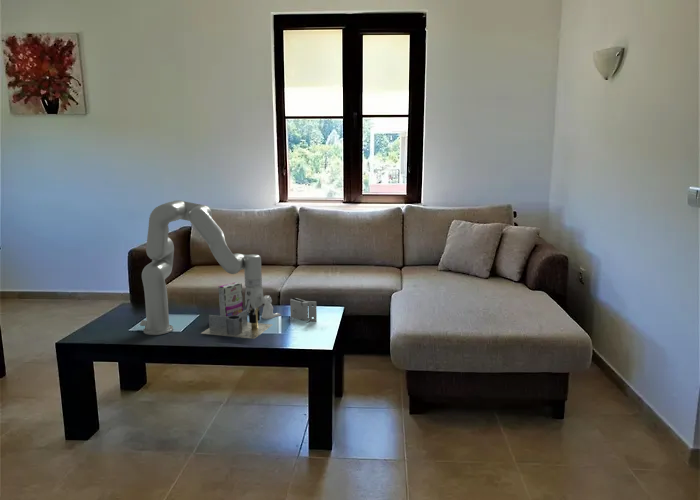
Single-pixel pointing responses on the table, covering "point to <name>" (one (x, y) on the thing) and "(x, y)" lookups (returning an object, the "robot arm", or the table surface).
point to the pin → (255, 325)
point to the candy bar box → (230, 299)
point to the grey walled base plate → (234, 326)
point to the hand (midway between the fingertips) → (254, 321)
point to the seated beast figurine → (268, 309)
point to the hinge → (303, 310)
